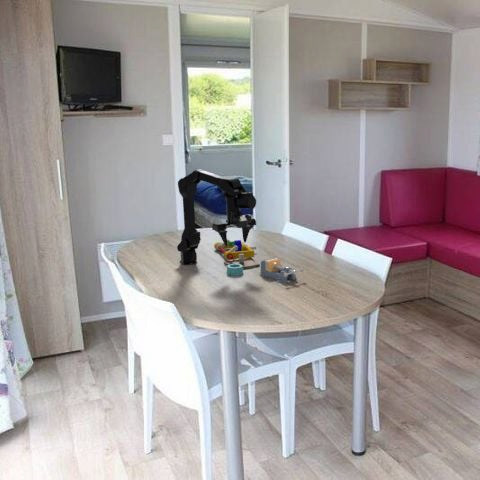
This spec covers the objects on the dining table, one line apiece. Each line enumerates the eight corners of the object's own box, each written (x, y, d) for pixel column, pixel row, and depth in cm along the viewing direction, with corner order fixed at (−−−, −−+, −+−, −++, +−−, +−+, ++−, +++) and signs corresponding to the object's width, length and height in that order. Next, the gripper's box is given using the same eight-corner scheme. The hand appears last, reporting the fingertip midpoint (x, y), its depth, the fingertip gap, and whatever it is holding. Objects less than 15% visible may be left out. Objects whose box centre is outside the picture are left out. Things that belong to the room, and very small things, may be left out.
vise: (257, 275, 228) (256, 260, 226) (275, 270, 234) (275, 256, 232) (285, 285, 214) (285, 269, 212) (304, 280, 220) (304, 264, 218)
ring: (231, 276, 227) (231, 268, 227) (225, 272, 233) (224, 265, 232) (245, 273, 230) (244, 266, 229) (238, 270, 236) (237, 263, 235)
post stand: (235, 270, 235) (235, 259, 234) (223, 264, 245) (223, 253, 244) (259, 266, 240) (259, 255, 239) (246, 260, 251) (246, 249, 250)
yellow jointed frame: (227, 249, 242) (213, 237, 270) (227, 262, 243) (213, 249, 272) (265, 245, 246) (248, 234, 275) (266, 258, 248) (248, 246, 276)
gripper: (222, 213, 215) (225, 250, 218) (262, 207, 224) (264, 243, 227) (210, 210, 224) (213, 246, 227) (248, 204, 233) (250, 239, 236)
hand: (235, 244), depth 229 cm, fingers open, 9 cm apart
